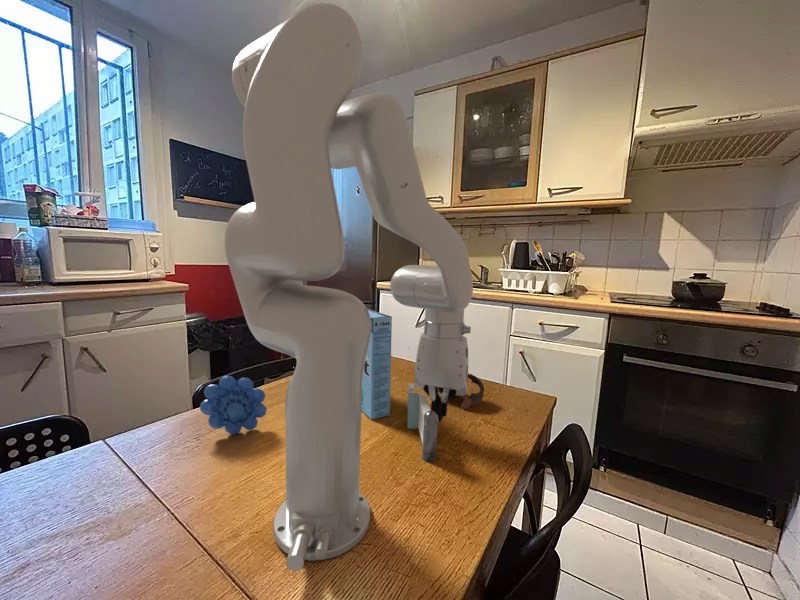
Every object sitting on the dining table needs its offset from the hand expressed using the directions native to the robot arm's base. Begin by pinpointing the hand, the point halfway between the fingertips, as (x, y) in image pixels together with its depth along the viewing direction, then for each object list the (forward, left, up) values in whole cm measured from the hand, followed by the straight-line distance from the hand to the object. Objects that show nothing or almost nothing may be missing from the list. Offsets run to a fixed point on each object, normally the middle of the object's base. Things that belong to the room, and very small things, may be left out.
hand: (438, 418), depth 69 cm
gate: (-1, +3, -3) cm, 5 cm away
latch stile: (+3, +5, -4) cm, 7 cm away
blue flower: (-2, +40, -4) cm, 40 cm away
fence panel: (+8, +5, -4) cm, 10 cm away
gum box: (+15, +17, -4) cm, 23 cm away
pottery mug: (+17, -7, -4) cm, 19 cm away
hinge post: (-8, +3, -4) cm, 9 cm away
